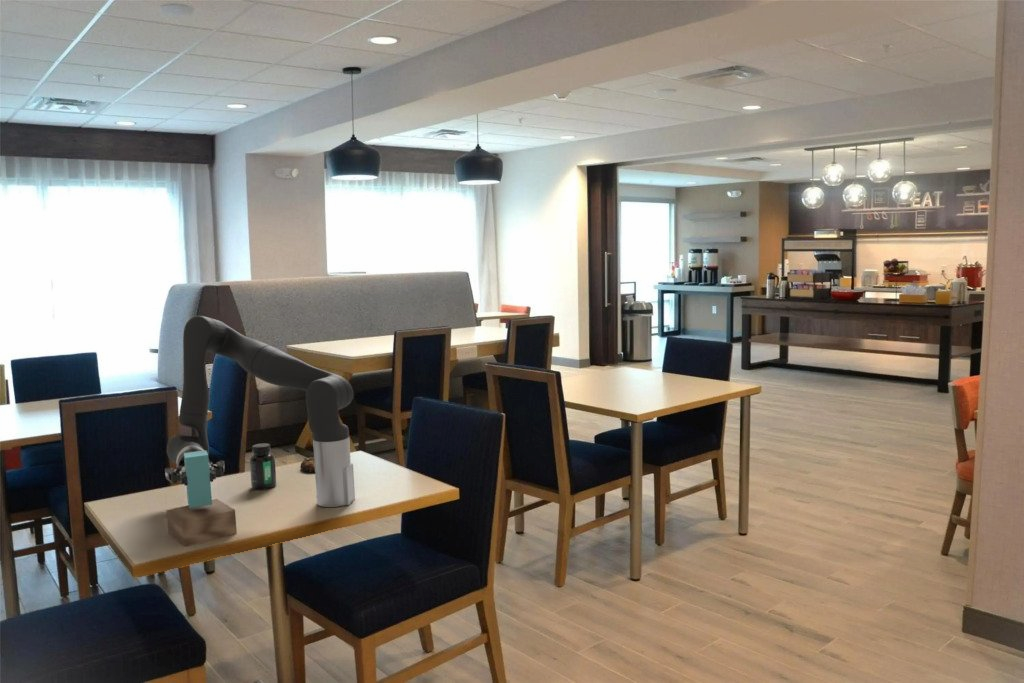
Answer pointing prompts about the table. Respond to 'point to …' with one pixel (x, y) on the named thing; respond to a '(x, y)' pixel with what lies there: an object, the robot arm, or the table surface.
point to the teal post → (198, 479)
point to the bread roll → (308, 465)
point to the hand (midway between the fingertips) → (198, 479)
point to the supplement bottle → (262, 467)
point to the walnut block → (201, 523)
